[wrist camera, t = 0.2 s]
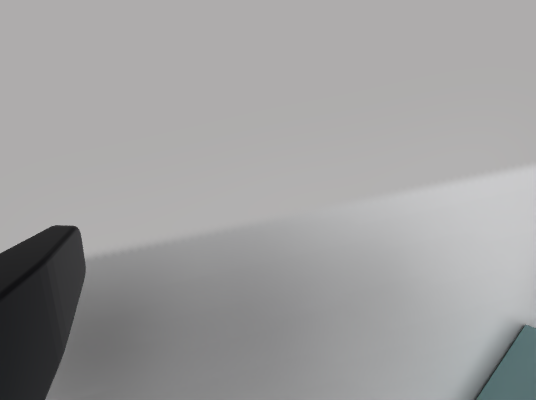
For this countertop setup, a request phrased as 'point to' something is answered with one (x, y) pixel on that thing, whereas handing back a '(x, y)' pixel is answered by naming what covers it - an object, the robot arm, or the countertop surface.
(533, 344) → the teal square frame
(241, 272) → the countertop surface
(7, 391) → the robot arm
